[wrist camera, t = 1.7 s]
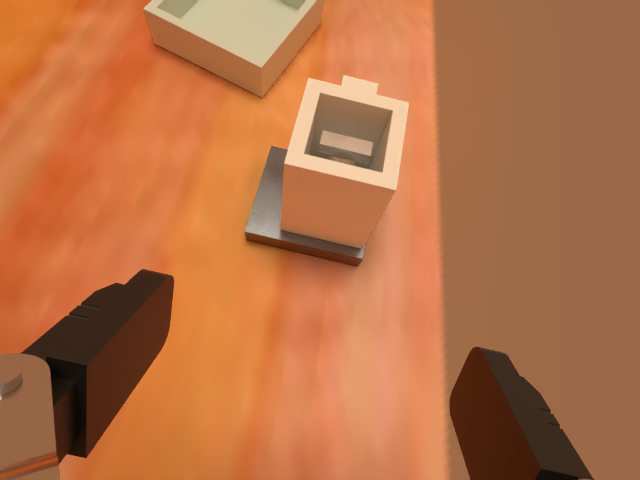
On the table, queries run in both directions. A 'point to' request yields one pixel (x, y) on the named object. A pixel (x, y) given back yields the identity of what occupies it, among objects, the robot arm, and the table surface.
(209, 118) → the table surface
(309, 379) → the table surface
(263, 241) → the stake stand
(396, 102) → the cream open box
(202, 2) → the tray
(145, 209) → the table surface
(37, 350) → the robot arm
